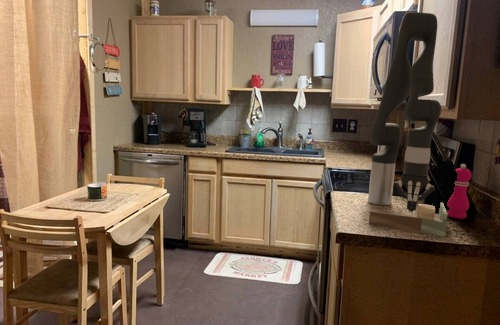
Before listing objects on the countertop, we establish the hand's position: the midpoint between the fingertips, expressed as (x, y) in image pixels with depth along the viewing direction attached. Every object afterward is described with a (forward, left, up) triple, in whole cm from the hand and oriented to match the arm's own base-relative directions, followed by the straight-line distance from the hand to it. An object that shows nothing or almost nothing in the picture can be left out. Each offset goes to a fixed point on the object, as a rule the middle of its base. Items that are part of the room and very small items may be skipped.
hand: (410, 211), depth 123 cm
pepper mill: (-22, +16, -5) cm, 28 cm away
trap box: (-3, -2, -5) cm, 6 cm away
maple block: (0, +5, -3) cm, 5 cm away
